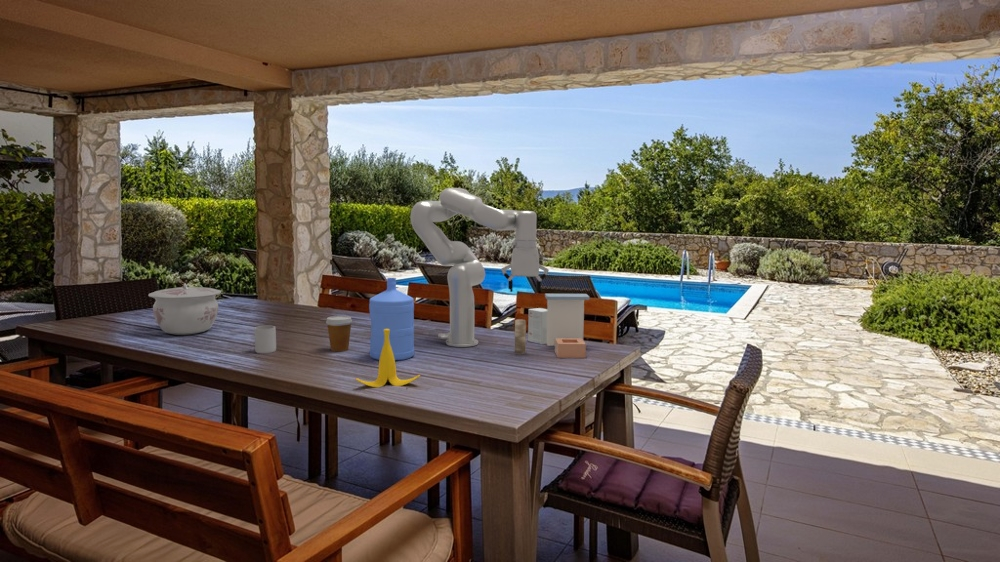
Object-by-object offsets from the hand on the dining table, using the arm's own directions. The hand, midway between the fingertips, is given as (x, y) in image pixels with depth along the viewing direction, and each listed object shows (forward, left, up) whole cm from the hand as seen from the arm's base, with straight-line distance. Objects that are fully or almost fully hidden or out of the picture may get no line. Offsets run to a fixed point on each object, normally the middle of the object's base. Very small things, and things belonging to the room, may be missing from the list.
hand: (524, 291), depth 233 cm
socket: (+17, -4, -23) cm, 28 cm away
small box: (+8, +18, -23) cm, 30 cm away
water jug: (-47, -8, -23) cm, 53 cm away
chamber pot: (-139, +34, -23) cm, 145 cm away
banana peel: (-41, -43, -23) cm, 64 cm away
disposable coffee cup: (-68, +2, -23) cm, 72 cm away
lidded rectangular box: (+17, +9, -23) cm, 29 cm away
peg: (-1, -1, -23) cm, 23 cm away
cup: (-94, 0, -23) cm, 97 cm away
